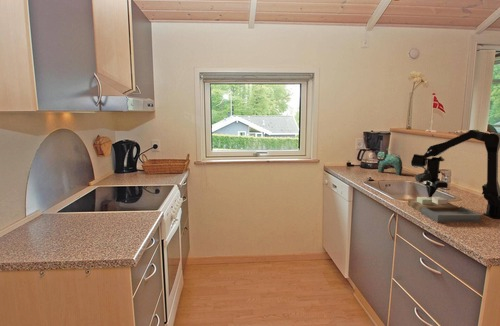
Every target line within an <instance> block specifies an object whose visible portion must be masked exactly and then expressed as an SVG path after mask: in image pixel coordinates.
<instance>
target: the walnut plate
mask: <svg viewBox="0 0 500 326" xmlns="http://www.w3.org/2000/svg"><path fill="white" fill-rule="evenodd" d="M407 206H409V207H411V208H413V209H414V210H416V211H417V212H420V213H421V209H422V207H426V208H427V209H429V210H459V208H460V206H458V205H455V204H453V203H450V202H449V201H448V202H447V204H436V203H434V202H432V204H421V203H419V202H417V199H407Z"/></svg>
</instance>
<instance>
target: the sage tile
mask: <svg viewBox="0 0 500 326" xmlns="http://www.w3.org/2000/svg"><path fill="white" fill-rule="evenodd" d="M416 200H417V202H419V203H421V204H432V198H431V197H429V196H428V197H427V196H417V197H416Z"/></svg>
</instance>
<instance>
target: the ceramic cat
mask: <svg viewBox="0 0 500 326" xmlns="http://www.w3.org/2000/svg"><path fill="white" fill-rule="evenodd" d="M387 150H389V151H391V149H390V148H387V149H386V150H385V151H381V150H379V151H378V153H377V154H376V159H378V160H379V161H378V166H377V171H378V172H377V173H382V174H383V173H384V172H385V168H386V167H387V166H392V167H393V168H394V169H395V170H394V171H395V176H401V175H402V172H403V168H404V167H403V162H402V158H401V156H400V155H399V154H397V153H395V154H393V153H389V154H388V153H387V152H386V151H387Z"/></svg>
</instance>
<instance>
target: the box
mask: <svg viewBox="0 0 500 326" xmlns="http://www.w3.org/2000/svg"><path fill="white" fill-rule="evenodd" d="M420 214H421V215H423V216H425V217H427V218H428V219H430V220H432V221H434V222H435V223H437V224H438V223H439V224H440V223H442V224H443V223H445V224H446V223H447V224H449V223H454V224H455V223H456V224H457V223H464V224H465V223H466V224H467V223H468V224H469V223H472V224H473V223H479V224H480V223H482V222H481V221H482V215H483V214H480V213H478V212H476V211H473V210H471V209H469V208H466V207H464V206H459V210H429V209H427V208H426V207H422V209H421V212H420Z"/></svg>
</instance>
